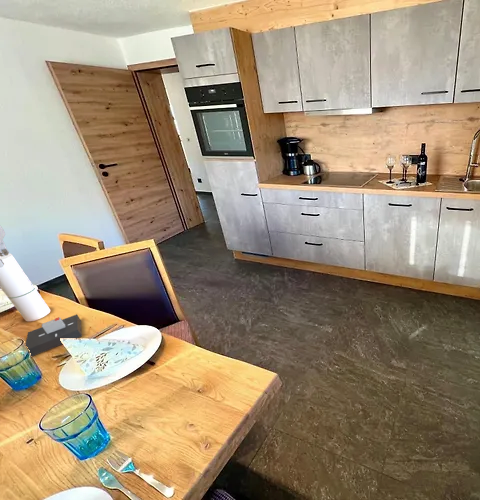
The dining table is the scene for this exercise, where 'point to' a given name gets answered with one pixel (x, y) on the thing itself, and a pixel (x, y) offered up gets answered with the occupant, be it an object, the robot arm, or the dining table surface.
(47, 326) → the stove knob
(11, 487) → the dining table surface
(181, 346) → the dining table surface
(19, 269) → the cylindrical container
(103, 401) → the dining table surface
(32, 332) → the hob panel
